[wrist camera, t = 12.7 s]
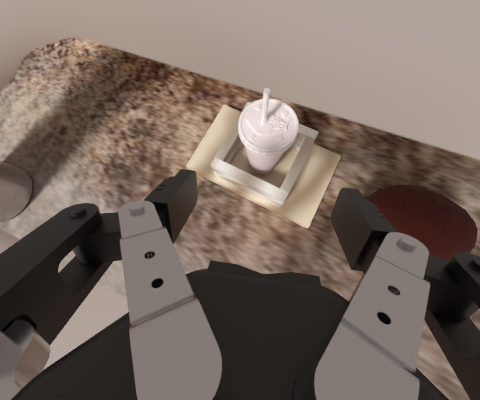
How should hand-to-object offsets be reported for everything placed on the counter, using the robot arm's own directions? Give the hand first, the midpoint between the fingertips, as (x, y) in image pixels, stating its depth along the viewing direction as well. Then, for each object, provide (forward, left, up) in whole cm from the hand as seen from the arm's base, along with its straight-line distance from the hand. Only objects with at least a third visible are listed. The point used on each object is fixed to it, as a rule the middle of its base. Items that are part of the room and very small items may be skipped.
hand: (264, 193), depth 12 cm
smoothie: (-3, +9, -18) cm, 20 cm away
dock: (-3, +9, -19) cm, 21 cm away
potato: (+17, +8, -19) cm, 27 cm away
